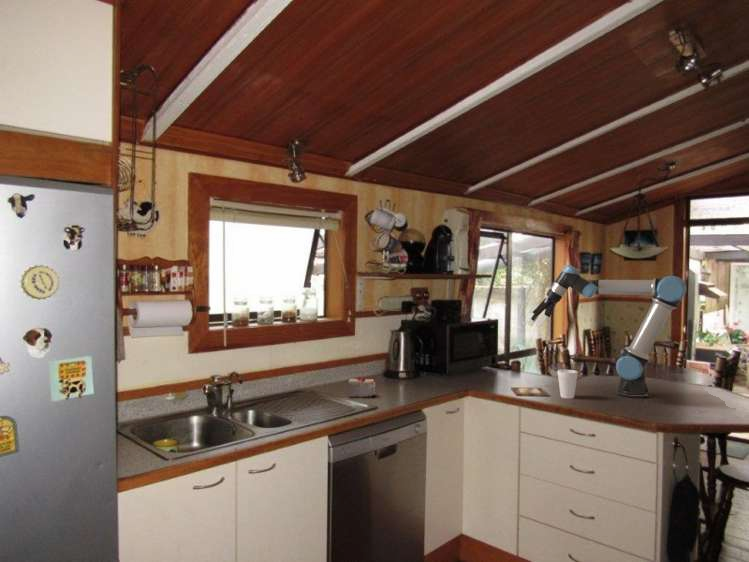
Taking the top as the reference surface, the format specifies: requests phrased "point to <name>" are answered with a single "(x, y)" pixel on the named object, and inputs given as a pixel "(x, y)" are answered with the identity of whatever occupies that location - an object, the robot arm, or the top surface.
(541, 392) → the trivet
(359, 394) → the food item
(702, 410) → the top surface
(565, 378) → the foam cup
